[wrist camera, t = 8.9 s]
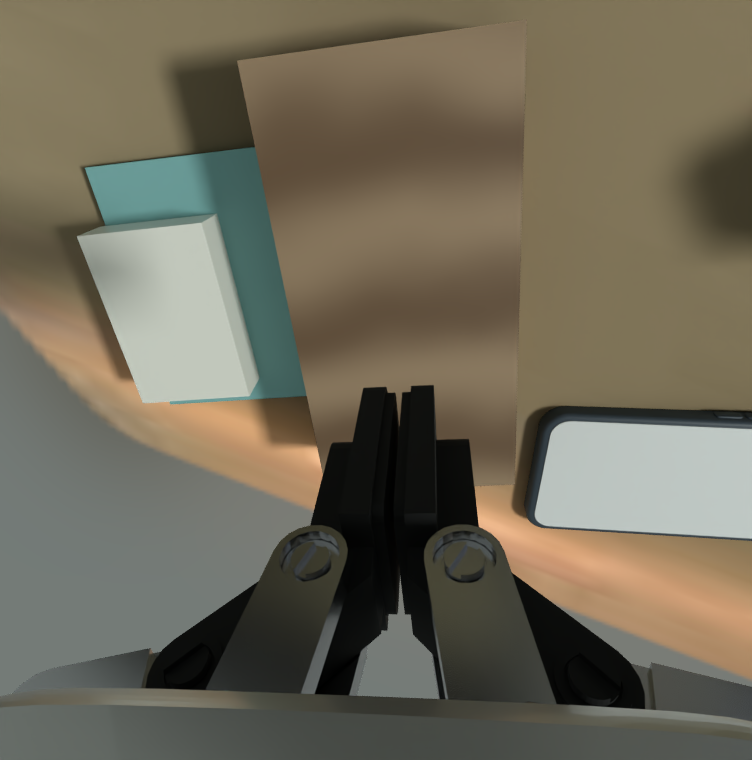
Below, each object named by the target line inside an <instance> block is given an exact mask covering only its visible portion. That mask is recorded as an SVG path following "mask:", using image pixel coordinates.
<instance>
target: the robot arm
mask: <svg viewBox="0 0 752 760" xmlns="http://www.w3.org/2000/svg"><path fill="white" fill-rule="evenodd" d="M400 577H401V585H402V593H403V602H404V610H405V614H411V620H412V629H413V635H414V636H415V637H416V638H417V639H418V640H419V641H420V642H421V643H422V644H424V646H425V647H426V648H427V649H428V650H429V651H430V652H431V653H432V662H433V668H434V675H435V681H436V687H437V694H438V699H423V698H421V699H420V698H398V697H397V698H396V697H372V696H357V694H358V690H359V686H360V682H361V678H362V674H363V670H364V666H365V662H366V658H367V645H368V644H370V643H371V642H372V641H373V640H374V639H375V638H376V637H377V636H379V635H380V634H381V630H387V628H388V614H397V613H398V601H399V600H398V599H399V582H400ZM0 760H752V687H750V686H746V685H742V684H738V683H734V682H729V681H725V680H721V679H717V678H713V677H709V676H705V675H701V674H696V673H692V672H688V671H684V670H680V669H676V668H672V667H668V666H664V665H659V664H655V663H651V664H650V667H649V668H646V667H642V666H638V665H634V664H630V662H629V661H627V660H626V659H625V658H624V657H623V656H622V655H621V654H620V653H619V652H618V651H617V650H615V649H614V648H613V647H611V646H610V645H609V644H607V643H606V642H604V641H603V640H602V639H601V638H599V637H598V636H596V635H595V634H594V633H592V632H591V631H590V630H588V629H587V628H586V627H584V626H583V625H581V624H580V623H579V622H578V621H576V620H575V619H574V618H572V617H571V616H569V615H568V614H567V613H565V612H564V611H563V610H561V609H560V608H559V607H557V606H556V605H555V604H553V603H552V602H551V601H549V600H548V599H547V598H545V597H544V596H543V595H541V594H540V593H538V592H537V591H536V590H534V589H533V588H532V587H530V586H529V585H528V584H526V583H525V582H524V581H522V580H521V579H520V578H518V577H517V576H516V575H514V574H513V573H512V572H511V569H510V566H509V563H508V561H507V558H506V555H505V552H504V550H503V548H502V546H501V544H500V542H499V541H498V540H497V539H496V538H495V537H494V536H493V535H492V534H491V533H489V532H487V531H486V530H484V529H482V528H480V527H479V525H478V516H477V507H476V498H475V488H474V479H473V470H472V460H471V451H470V442H469V439H444V440H437V434H436V415H435V396H434V385H419V386H411V392H402V400H401V413H400V426H399V420H398V410H397V400H396V393H395V392H394V393H388V391H387V387H369V388H363V391H362V396H361V401H360V406H359V411H358V416H357V421H356V427H355V432H354V437H353V442H333V443H332V444H331V446H330V449H329V453H328V457H327V461H326V465H325V469H324V473H323V477H322V481H321V485H320V489H319V493H318V497H317V501H316V505H315V509H314V513H313V517H312V521H311V525H310V526H307V527H303V528H299V529H297V530H295V531H293V532H291V533H289V534H288V535H287V536H286V537H285V538H283V539H282V540H281V541H280V542H279V544H278V545H277V547H276V548H275V549H274V551H273V553H272V555H271V557H270V559H269V561H268V563H267V565H266V567H265V570H264V572H263V574H262V576H261V578H260V580H259V581H258V582H257V583H256V584H254V585H252V586H251V587H250V588H248V589H247V590H245V591H244V592H242V593H241V594H239V595H238V596H237V597H235V598H234V599H232V600H231V601H229V602H228V603H226V604H225V605H224V606H222V607H221V608H219V609H218V610H216V611H215V612H214V613H212V614H211V615H209V616H208V617H206V618H205V619H203V620H202V621H200V622H199V623H198V624H196V625H195V626H193V627H192V628H190V629H189V630H187V631H186V632H185V633H183V634H182V635H180V636H179V637H177V638H176V639H174V640H173V641H172V642H171V643H170V644H169V645H167V646H166V647H165V648H164V649H163V650H162V651H161V652H157V653H153V652H152V650H151V648H149V649H144V650H139V651H134V652H130V653H124V654H120V655H115V656H110V657H105V658H100V659H95V660H91V661H86V662H81V663H76V664H72V665H67V666H62V667H57V668H52V669H49V670H46V671H43V672H41V673H38V674H36V675H34V676H33V677H31V678H30V679H28V680H27V681H25V682H24V683H22V684H21V685H20V686H19V687H18V688H17V689H16V690H15V691H14V692H13V693H12V694H8V695H3V696H0Z"/></svg>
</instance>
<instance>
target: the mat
mask: <svg viewBox="0 0 752 760" xmlns="http://www.w3.org/2000/svg"><path fill="white" fill-rule="evenodd" d="M85 170H86V173H87V175H88V178H89V181H90V184H91V186H92V189H93V192H94V195H95V198H96V200H97V203H98V206H99V209H100V211H101V214H102V217H103V220H104V222H105V225H106V226H109V225H118V224H127V223H136V222H145V221H154V220H163V219H172V218H181V217H190V216H199V215H208V214H217V216H218V219H219V223H220V227H221V231H222V235H223V239H224V243H225V246H226V250H227V254H228V258H229V262H230V266H231V269H232V273H233V277H234V281H235V285H236V289H237V293H238V296H239V300H240V304H241V308H242V312H243V316H244V319H245V323H246V327H247V331H248V335H249V339H250V343H251V346H252V350H253V354H254V358H255V362H256V366H257V369H258V373H259V377H260V378H259V380H258V382H257V384H256V385H255V387H254V389H253V391H252V393H251V394H250V396H245V397H230V398H215V399H200V400H185V401H170V404H184V403H200V402H217V401H233V400H249V399H265V398H282V397H298V396H307V395H306V390H305V385H304V380H303V376H302V371H301V366H300V361H299V356H298V351H297V347H296V342H295V337H294V332H293V327H292V323H291V318H290V313H289V308H288V303H287V299H286V294H285V289H284V284H283V279H282V274H281V270H280V265H279V260H278V255H277V250H276V246H275V241H274V236H273V231H272V226H271V222H270V217H269V212H268V207H267V202H266V198H265V193H264V188H263V183H262V178H261V173H260V169H259V164H258V159H257V154H256V149H255V147H250V148H241V149H233V150H225V151H217V152H208V153H200V154H192V155H183V156H175V157H167V158H159V159H150V160H142V161H134V162H126V163H117V164H109V165H101V166H93V167H87V168H85Z"/></svg>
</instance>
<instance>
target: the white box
mask: <svg viewBox="0 0 752 760" xmlns="http://www.w3.org/2000/svg"><path fill="white" fill-rule="evenodd" d="M77 238H78V241H79V243H80V246H81V248H82V251H83V254H84V256H85V259H86V261H87V264H88V266H89V269H90V271H91V274H92V276H93V279H94V281H95V284H96V286H97V289H98V291H99V294H100V296H101V299H102V301H103V304H104V306H105V309H106V311H107V314H108V316H109V319H110V321H111V324H112V326H113V329H114V331H115V334H116V336H117V339H118V341H119V344H120V346H121V349H122V351H123V354H124V356H125V359H126V362H127V364H128V367H129V369H130V372H131V374H132V377H133V379H134V382H135V384H136V387H137V389H138V392H139V394H140V397H141V399H142V402H143V403H154V402H169V401H185V400H200V399H215V398H230V397H245V396H250V394H251V393H252V391H253V389H254V387H255V385H256V384H257V382H258V380H259V378H260V377H259V373H258V369H257V366H256V362H255V358H254V354H253V350H252V346H251V343H250V339H249V335H248V331H247V327H246V323H245V319H244V316H243V312H242V308H241V304H240V300H239V296H238V293H237V289H236V285H235V281H234V277H233V273H232V269H231V266H230V262H229V258H228V254H227V250H226V246H225V243H224V239H223V235H222V231H221V227H220V223H219V219H218V216H217V214H208V215H199V216H190V217H181V218H172V219H163V220H154V221H145V222H136V223H127V224H118V225H109V226H100V227H98V228H96V229H93V230H91V231H88V232H86V233H84V234H81V235H79V236H77Z"/></svg>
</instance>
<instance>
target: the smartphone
mask: <svg viewBox="0 0 752 760" xmlns="http://www.w3.org/2000/svg"><path fill="white" fill-rule="evenodd" d="M524 507H525V511H526V515H527V518H528V520H529V521H530V522H531V523H532V524H534V525H536V526H538V527H541V528H552V529H568V530H584V531H600V532H617V533H633V534H649V535H665V536H682V537H698V538H714V539H730V540H747V541H752V412H724V411H696V410H668V409H638V408H608V407H577V406H561V407H557V408H554V409H552V410H550V411H548V412H547V413H546V414H545V415H544V416H543V417H542V418H541V420H540V423H539V427H538V432H537V437H536V443H535V448H534V454H533V459H532V464H531V470H530V475H529V481H528V486H527V491H526V497H525V502H524Z"/></svg>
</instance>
